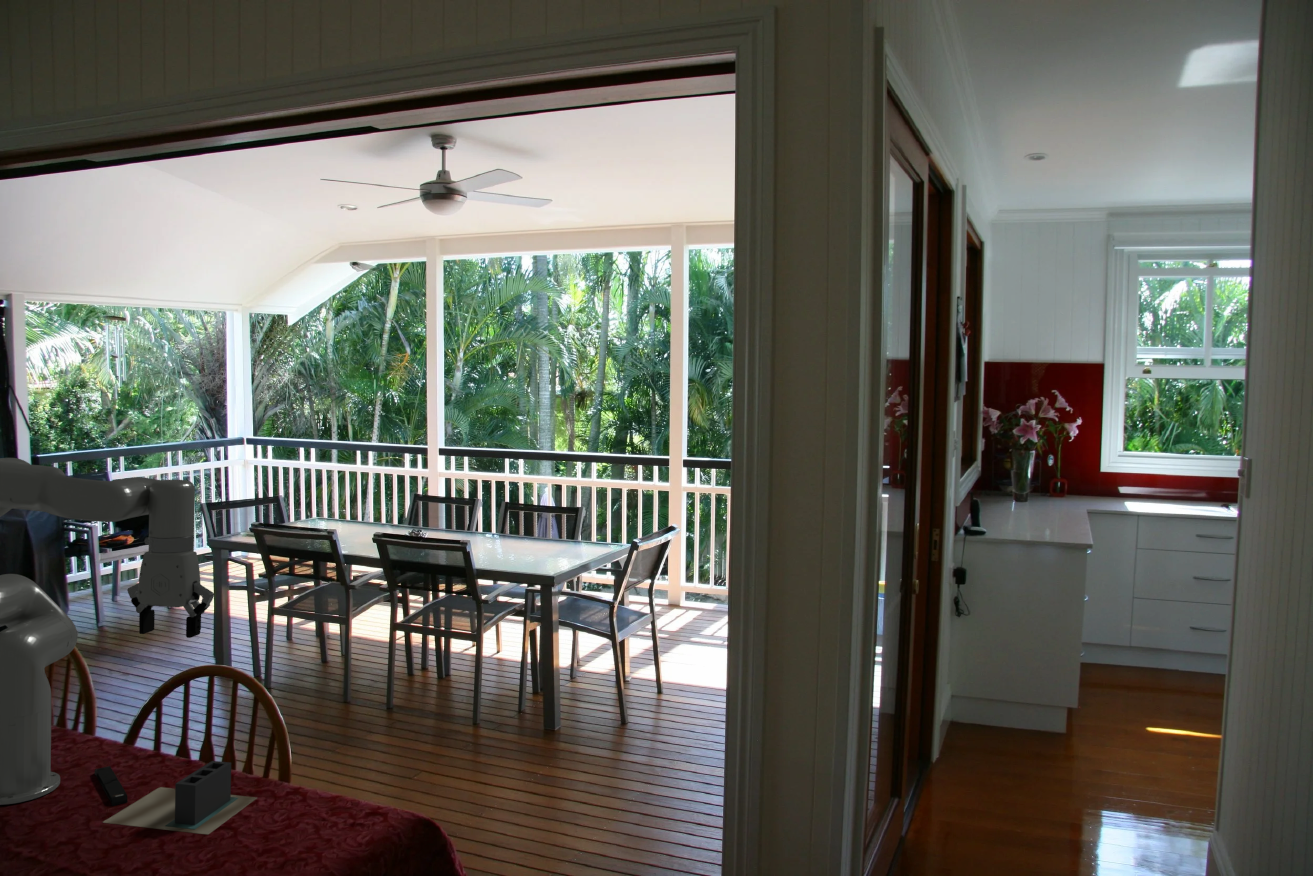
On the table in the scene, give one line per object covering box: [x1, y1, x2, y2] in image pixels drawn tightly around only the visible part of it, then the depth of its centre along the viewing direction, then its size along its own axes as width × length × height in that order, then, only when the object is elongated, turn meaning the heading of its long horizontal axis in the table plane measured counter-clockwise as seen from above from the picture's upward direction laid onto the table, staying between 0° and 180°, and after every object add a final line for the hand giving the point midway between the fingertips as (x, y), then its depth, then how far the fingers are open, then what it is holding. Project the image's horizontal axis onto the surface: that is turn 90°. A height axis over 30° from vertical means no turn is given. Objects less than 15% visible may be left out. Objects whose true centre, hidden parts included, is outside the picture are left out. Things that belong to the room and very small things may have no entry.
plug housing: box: [174, 760, 232, 825], centre depth 153 cm, size 10×4×7 cm, turn 172°
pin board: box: [102, 786, 258, 835], centre depth 153 cm, size 20×14×5 cm
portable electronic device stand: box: [93, 765, 129, 807], centre depth 161 cm, size 18×3×3 cm, turn 42°
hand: (169, 634), depth 163 cm, fingers open, 9 cm apart
